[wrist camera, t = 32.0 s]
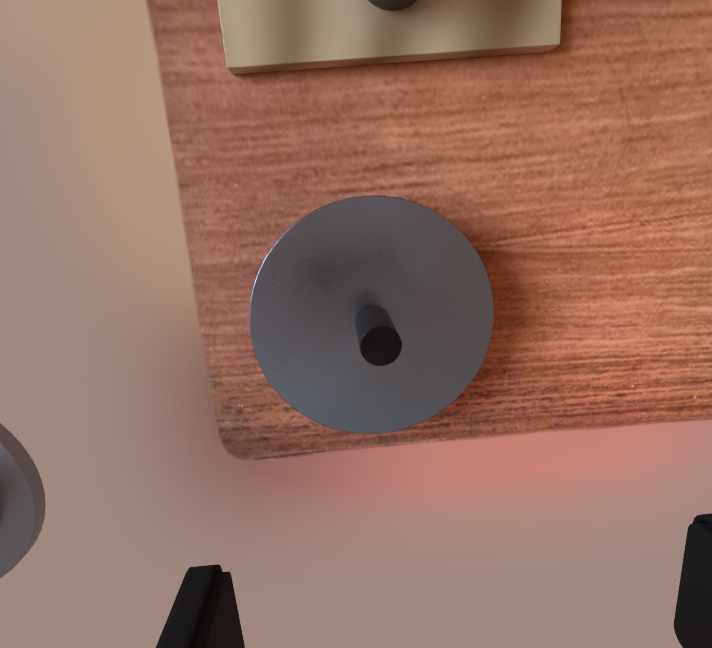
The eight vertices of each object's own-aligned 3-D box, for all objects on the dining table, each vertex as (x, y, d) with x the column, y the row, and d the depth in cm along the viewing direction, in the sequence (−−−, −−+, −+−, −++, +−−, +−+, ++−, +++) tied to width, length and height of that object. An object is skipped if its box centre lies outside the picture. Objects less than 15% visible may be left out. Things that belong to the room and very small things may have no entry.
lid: (268, 436, 32) (253, 487, 26) (235, 206, 28) (208, 206, 22) (488, 415, 33) (522, 461, 27) (488, 186, 28) (530, 180, 22)
